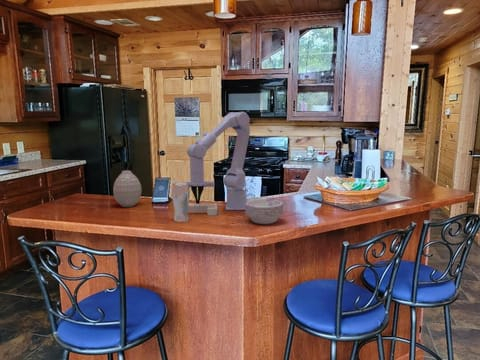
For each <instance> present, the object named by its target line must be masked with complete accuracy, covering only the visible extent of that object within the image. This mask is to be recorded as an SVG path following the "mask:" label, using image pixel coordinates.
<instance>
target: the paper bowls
mask: <svg viewBox="0 0 480 360" xmlns="http://www.w3.org/2000/svg"><path fill="white" fill-rule="evenodd" d="M245 206H246V207H245V209H246V210H245V216H247V217H249V219H250V221H251V222H253V223H254V224H260V225H271V224H274V222H275V223H276V222H277V221H278V219H279V217H283V216H284V202H283V201H281V200H277V199H274V198H273V199H271V198H258V199H251V200H247V202H246V204H245ZM270 223H271V224H270Z"/></svg>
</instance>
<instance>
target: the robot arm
mask: <svg viewBox="0 0 480 360" xmlns="http://www.w3.org/2000/svg"><path fill="white" fill-rule="evenodd" d="M250 120H251V118H250V117H249V115H248V114H247V112H245V111H238V112H233V111H232V112H230V111H229V112H228V113H227V114H226V115H225V116H224V117H223V119H222V120H221V121H220V122H219V123H218V124H217V125H216V126H215V127H213V129H212V130H211V131H207V132H204V133H202V136H201V137H200V138H199V139H198V140H195V141H194V142H195V143H192V144H190V145H189V146H188V149H187V150H186V153H187V155H188V157H189V170H190V171H189V174H190V175H189V178H190V181H185V182H183V183H189V188H190V189H191V192H192V194H193V197H194V200H195V203H196V204H199V203H201V202H200V201H201V200H200V199H201V197H202V194H203V191H204V189H205V188H207V187H208V188H210V187H211V188H214V187H215V181H205V180H204V179H205V173H204V172H205V170H204V157H206V155H207V152H208V150H209V149H210V148H212V146H213V145H215V144H216V142H217V138H218V137H219V136H220V135H221V134H223V133H224V132H225V131H226V130H228V128H231V129H232V130H234V131H235V133H236V135H237V136H236V140H235V144H234V150H233V155H232V160H231V163H230V164H231V165H230V168H229V169H227V171H226V173H225V176H224V177H223V185H224V186H225V188H226V205H225V210H226V211H228V210H229V211H234V210H235V211H242V210H244V211H246V209H245V207H246V206H245V204H246V202H247V201H248V200H247V192H248V191H247V189H244V188H245V187H246V173H245V171H244V170H243V169H244V164H245V159H246V154H247V150H248V149H247V148H248V143H249V140H250V134H251V130H250Z"/></svg>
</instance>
